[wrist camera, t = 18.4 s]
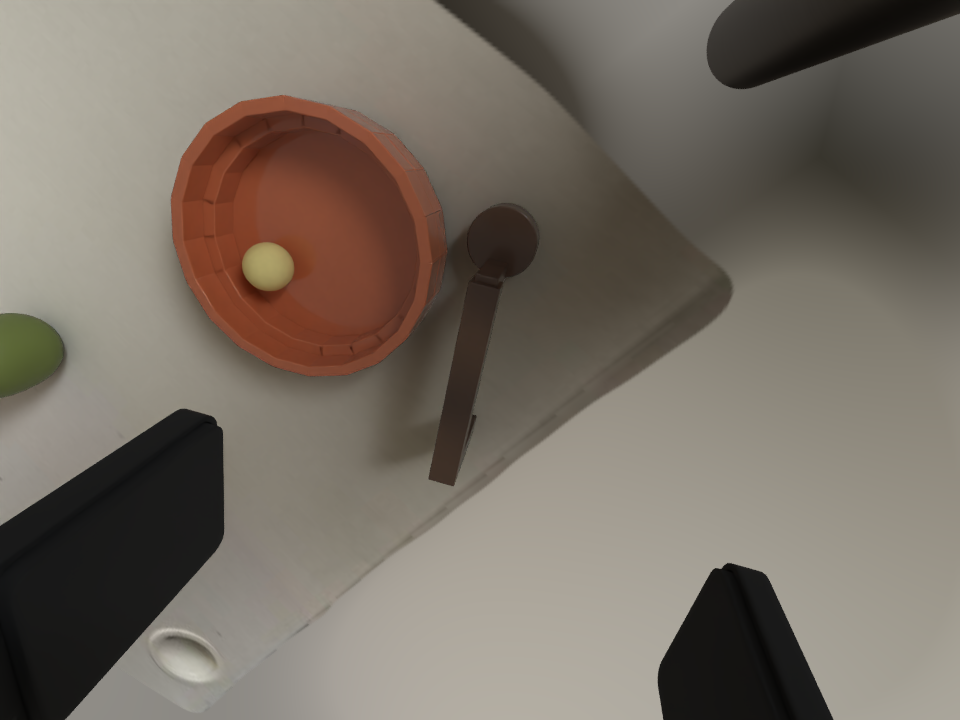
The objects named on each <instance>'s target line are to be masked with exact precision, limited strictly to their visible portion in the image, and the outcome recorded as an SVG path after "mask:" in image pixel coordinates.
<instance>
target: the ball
mask: <svg viewBox="0 0 960 720" xmlns="http://www.w3.org/2000/svg"><path fill="white" fill-rule="evenodd" d="M242 270H243V273H244V275H245V277H246V279H247V280H248V281H249V283H251V284H252V285H253V286H254V287H256V288H258V289H260V290H264V291H276V290H279V289H282V288H284V287H285V286H286V285H287V284H288V283H289V282H290V281H291V279H292V277H293V274H294V262H293V259H292V257H291V256H290V254H289V253H288V252H287V251H286V250H285V249H284V248H283V247H281V246H279V245H277V244H275V243H270V242H263V243H258V244H256V245H254V246H252V247H251V248H249V249H248V250H247V252H246V253H245V255H244V257H243V260H242Z"/></svg>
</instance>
